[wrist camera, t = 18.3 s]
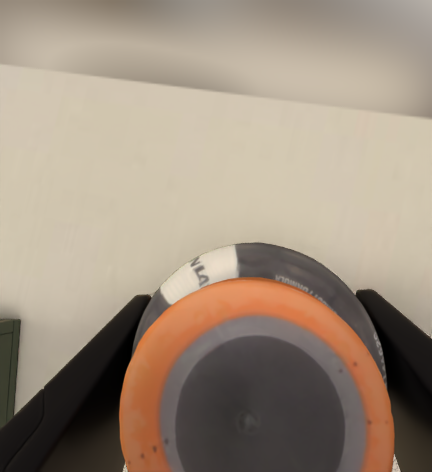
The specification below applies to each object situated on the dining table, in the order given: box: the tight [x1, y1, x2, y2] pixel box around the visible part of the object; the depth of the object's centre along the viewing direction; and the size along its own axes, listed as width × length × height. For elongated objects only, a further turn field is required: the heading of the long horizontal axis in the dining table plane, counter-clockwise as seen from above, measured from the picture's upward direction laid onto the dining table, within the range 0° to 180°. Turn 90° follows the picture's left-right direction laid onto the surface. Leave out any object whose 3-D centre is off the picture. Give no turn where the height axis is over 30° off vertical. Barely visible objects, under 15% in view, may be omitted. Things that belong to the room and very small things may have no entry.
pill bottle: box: [119, 243, 395, 472], centre depth 10 cm, size 6×6×11 cm
